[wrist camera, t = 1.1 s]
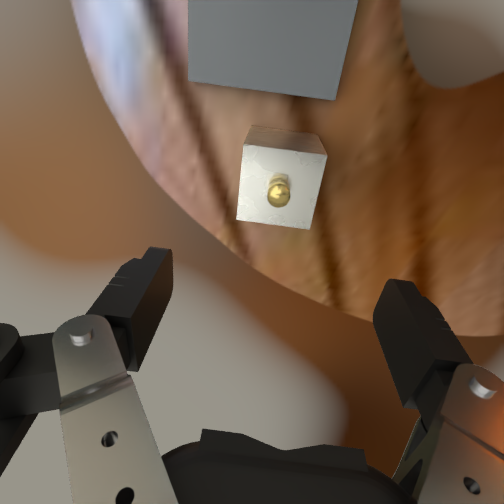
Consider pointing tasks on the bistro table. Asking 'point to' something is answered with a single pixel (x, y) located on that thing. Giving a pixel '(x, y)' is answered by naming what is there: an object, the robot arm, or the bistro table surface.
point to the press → (270, 44)
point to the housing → (280, 177)
